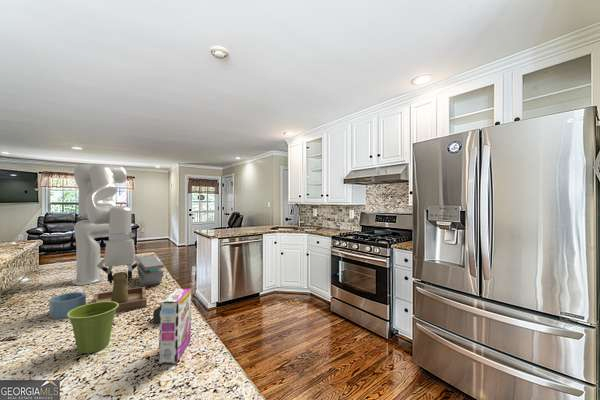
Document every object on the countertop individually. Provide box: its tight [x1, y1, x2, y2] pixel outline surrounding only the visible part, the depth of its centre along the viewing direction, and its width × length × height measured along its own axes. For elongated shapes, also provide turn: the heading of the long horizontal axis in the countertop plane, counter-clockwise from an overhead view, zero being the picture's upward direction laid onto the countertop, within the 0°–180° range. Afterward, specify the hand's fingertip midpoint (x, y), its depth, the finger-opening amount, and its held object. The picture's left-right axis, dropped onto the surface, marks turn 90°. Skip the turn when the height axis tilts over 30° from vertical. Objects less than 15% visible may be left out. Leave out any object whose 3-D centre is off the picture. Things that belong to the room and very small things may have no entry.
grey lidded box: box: [136, 255, 165, 287], centre depth 135 cm, size 25×8×11 cm, turn 39°
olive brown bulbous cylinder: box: [111, 271, 129, 302], centre depth 107 cm, size 6×6×11 cm
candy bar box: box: [158, 288, 193, 365], centre depth 74 cm, size 11×5×16 cm, turn 5°
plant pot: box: [67, 301, 119, 354], centre depth 76 cm, size 12×12×11 cm
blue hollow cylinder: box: [48, 291, 87, 320], centre depth 99 cm, size 10×10×6 cm
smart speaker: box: [152, 306, 160, 325], centre depth 95 cm, size 9×9×4 cm
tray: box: [91, 286, 147, 314], centre depth 107 cm, size 18×18×3 cm
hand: (120, 281), depth 107 cm, fingers open, 5 cm apart
